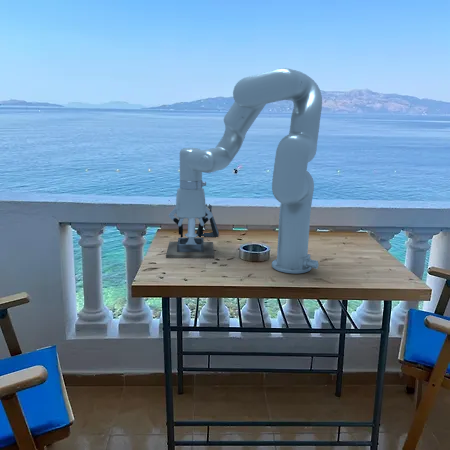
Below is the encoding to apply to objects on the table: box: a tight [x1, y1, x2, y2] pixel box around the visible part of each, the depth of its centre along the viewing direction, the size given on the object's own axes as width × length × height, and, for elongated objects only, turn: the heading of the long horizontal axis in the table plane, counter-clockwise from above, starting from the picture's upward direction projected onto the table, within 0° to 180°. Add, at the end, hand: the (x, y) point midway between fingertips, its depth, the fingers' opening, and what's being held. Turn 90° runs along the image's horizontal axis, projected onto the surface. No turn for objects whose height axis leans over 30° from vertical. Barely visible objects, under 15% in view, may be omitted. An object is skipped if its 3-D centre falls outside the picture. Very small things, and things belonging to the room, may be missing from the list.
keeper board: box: [165, 237, 215, 259], centre depth 160 cm, size 16×16×4 cm
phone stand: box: [195, 203, 220, 238], centre depth 180 cm, size 9×6×12 cm, turn 88°
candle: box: [184, 218, 198, 244], centre depth 159 cm, size 5×5×12 cm
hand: (190, 235), depth 159 cm, fingers open, 5 cm apart
